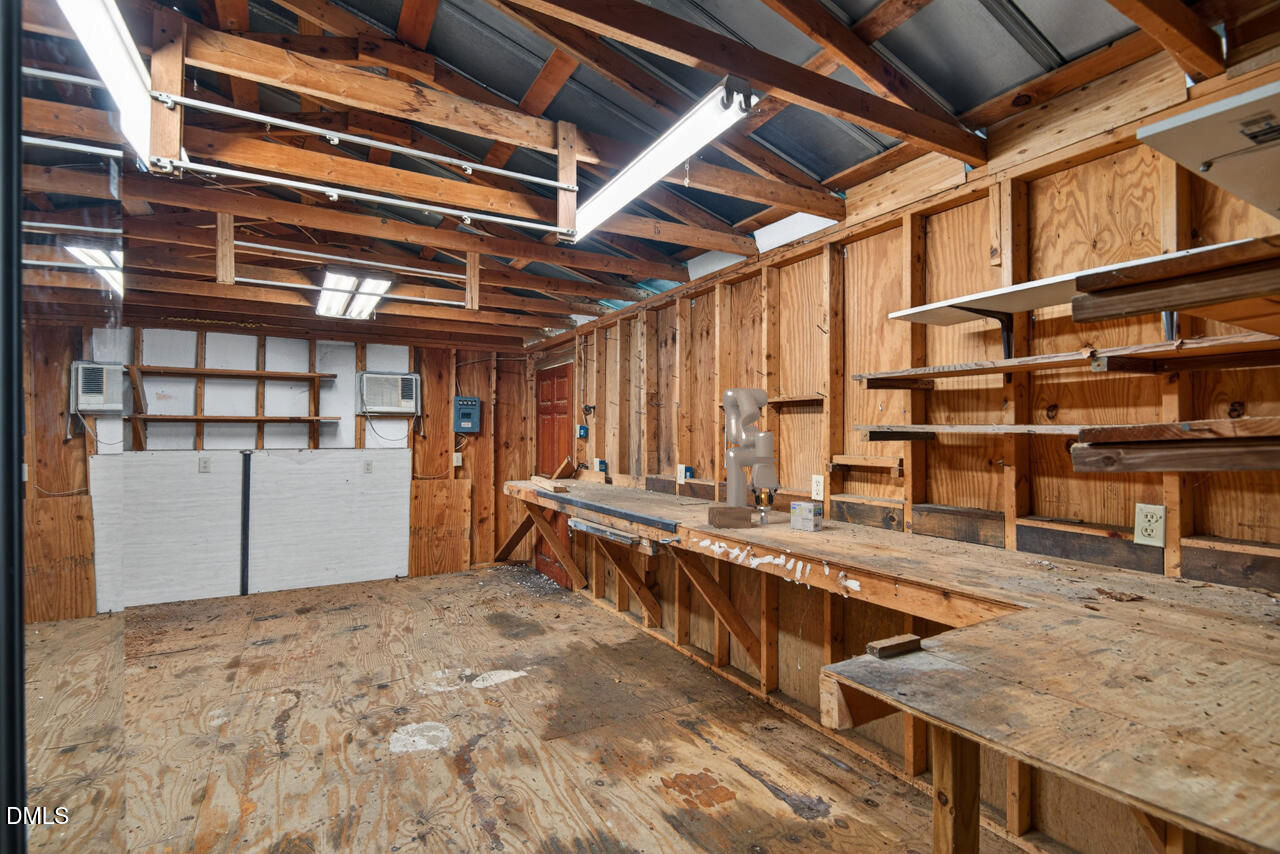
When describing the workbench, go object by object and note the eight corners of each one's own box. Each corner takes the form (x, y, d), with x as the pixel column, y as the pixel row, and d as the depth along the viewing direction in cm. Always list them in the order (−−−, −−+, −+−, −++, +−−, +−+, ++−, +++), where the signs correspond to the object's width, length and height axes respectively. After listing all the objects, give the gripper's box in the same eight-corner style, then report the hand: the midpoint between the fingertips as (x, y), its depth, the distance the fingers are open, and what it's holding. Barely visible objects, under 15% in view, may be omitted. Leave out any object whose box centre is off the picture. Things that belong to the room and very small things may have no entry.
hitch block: (708, 523, 250) (708, 506, 250) (740, 523, 252) (740, 506, 252) (717, 528, 236) (717, 511, 236) (751, 528, 238) (751, 510, 238)
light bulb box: (822, 530, 234) (823, 503, 235) (813, 532, 230) (813, 504, 230) (799, 527, 242) (799, 500, 243) (789, 528, 238) (790, 501, 238)
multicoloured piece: (755, 523, 252) (755, 491, 252) (767, 523, 252) (768, 491, 253) (759, 525, 246) (760, 492, 246) (772, 525, 247) (773, 492, 247)
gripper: (780, 460, 255) (780, 503, 254) (742, 460, 252) (741, 503, 252) (787, 461, 247) (786, 505, 247) (747, 461, 245) (747, 505, 244)
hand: (764, 504), depth 249 cm, fingers open, 4 cm apart
